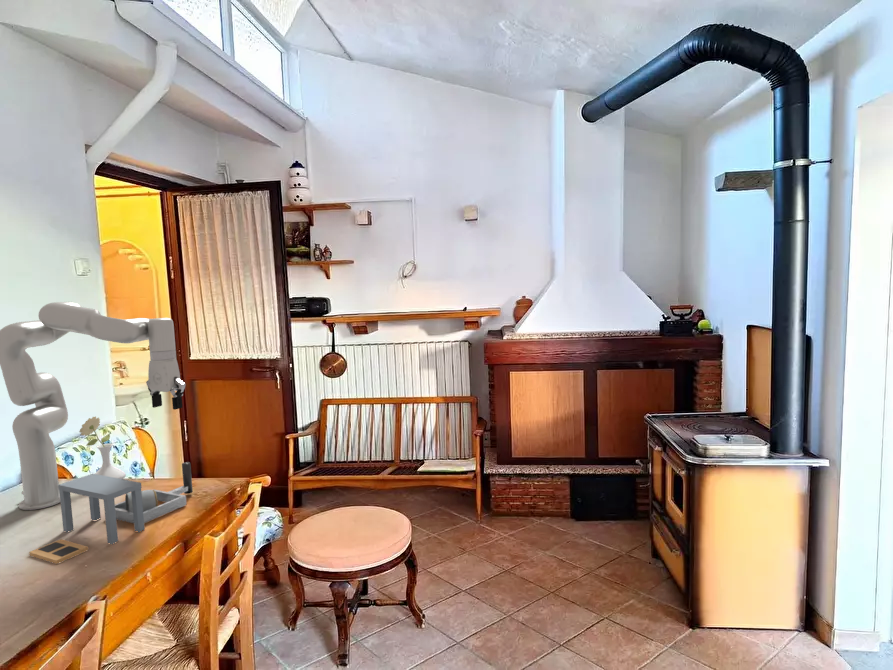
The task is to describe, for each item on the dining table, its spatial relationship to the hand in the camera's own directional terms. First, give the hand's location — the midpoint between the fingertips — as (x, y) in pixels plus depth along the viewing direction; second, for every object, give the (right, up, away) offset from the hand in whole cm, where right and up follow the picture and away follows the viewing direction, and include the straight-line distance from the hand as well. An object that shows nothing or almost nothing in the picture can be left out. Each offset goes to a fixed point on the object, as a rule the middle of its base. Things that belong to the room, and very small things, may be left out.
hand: (167, 407), depth 184 cm
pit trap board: (-12, -34, -35) cm, 50 cm away
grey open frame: (0, -31, -5) cm, 31 cm away
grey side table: (-8, -33, -22) cm, 40 cm away
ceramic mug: (-3, -32, -10) cm, 34 cm away
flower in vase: (-31, -30, +18) cm, 47 cm away
